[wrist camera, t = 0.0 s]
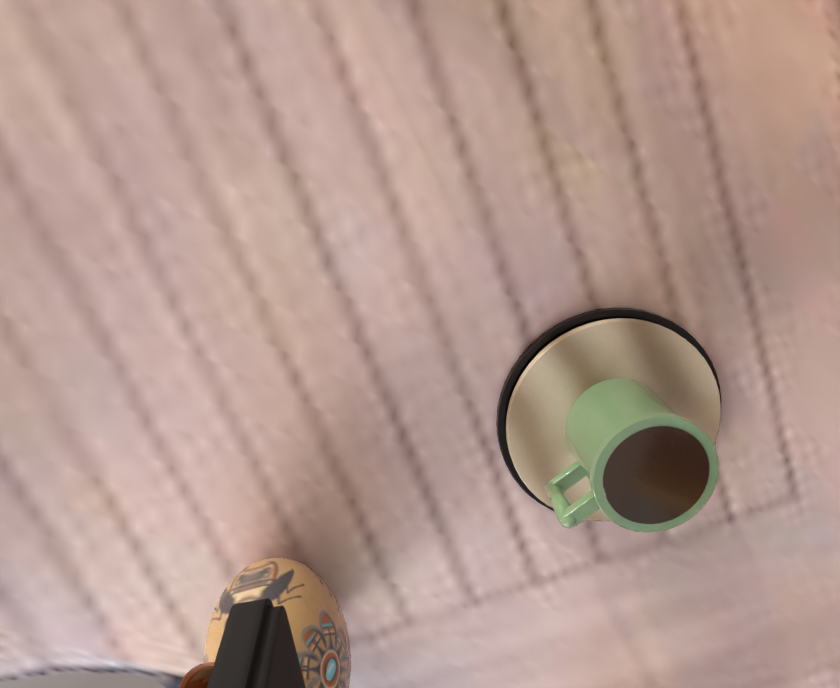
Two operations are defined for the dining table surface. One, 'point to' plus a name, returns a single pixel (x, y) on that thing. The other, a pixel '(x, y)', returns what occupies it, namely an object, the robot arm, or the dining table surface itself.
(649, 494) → the coffee cup on saucer
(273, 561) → the ceramic vessel
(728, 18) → the dining table surface
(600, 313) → the base
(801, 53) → the dining table surface
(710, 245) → the dining table surface
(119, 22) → the dining table surface
